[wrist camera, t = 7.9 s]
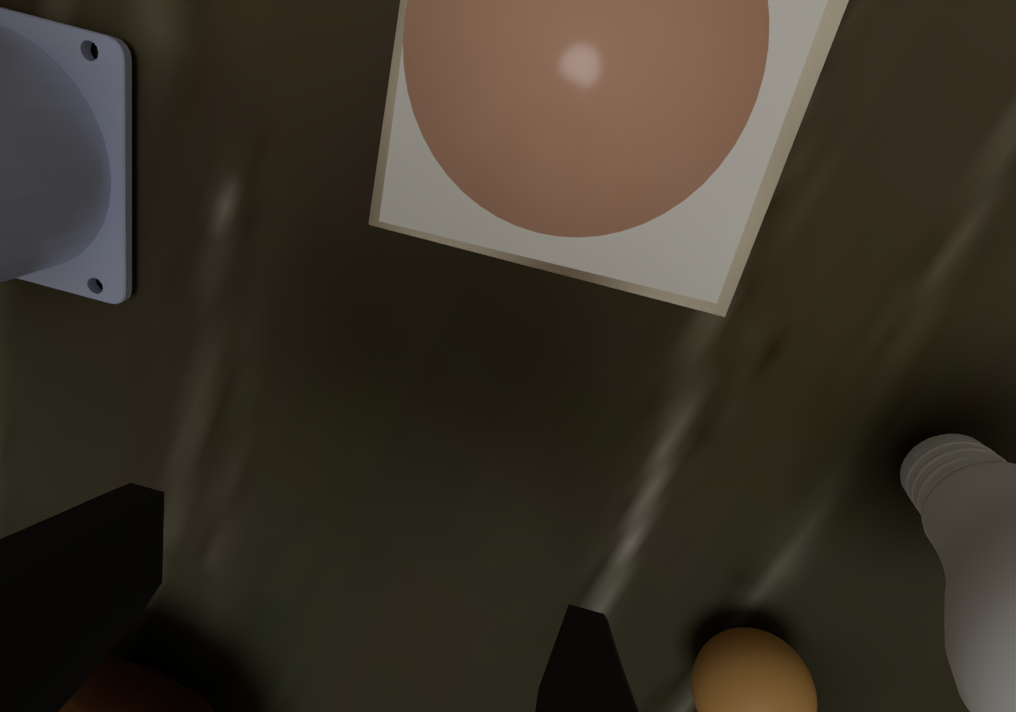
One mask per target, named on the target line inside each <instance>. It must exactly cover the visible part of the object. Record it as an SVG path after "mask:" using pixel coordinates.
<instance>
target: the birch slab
mask: <svg viewBox="0 0 1016 712" xmlns="http://www.w3.org/2000/svg"><path fill="white" fill-rule="evenodd" d="M848 1H849V0H828V2H827V5H826V8H825V10H824V13H823V16H822V18H821V21H820V24H819V27H818V29H817V32H816V35H815V38H814V40H813V43H812V46H811V48H810V51H809V54H808V57H807V59H806V62H805V65H804V68H803V70H802V73H801V76H800V78H799V81H798V84H797V87H796V89H795V92H794V95H793V97H792V100H791V103H790V106H789V108H788V111H787V114H786V117H785V119H784V122H783V125H782V127H781V130H780V133H779V136H778V138H777V141H776V144H775V146H774V149H773V152H772V155H771V157H770V160H769V163H768V166H767V168H766V171H765V174H764V176H763V179H762V182H761V185H760V187H759V190H758V193H757V196H756V198H755V201H754V204H753V206H752V209H751V212H750V215H749V217H748V220H747V223H746V225H745V228H744V231H743V234H742V236H741V239H740V242H739V245H738V247H737V250H736V253H735V255H734V258H733V261H732V264H731V266H730V269H729V272H728V275H727V277H726V280H725V283H724V285H723V288H722V291H721V294H720V296H719V299H718V302H717V304H716V303H712V302H708V301H704V300H700V299H696V298H692V297H688V296H683V295H679V294H675V293H671V292H667V291H663V290H659V289H655V288H651V287H647V286H642V285H638V284H634V283H630V282H626V281H622V280H618V279H614V278H610V277H605V276H601V275H597V274H593V273H589V272H585V271H581V270H577V269H573V268H569V267H564V266H560V265H556V264H552V263H548V262H544V261H540V260H536V259H532V258H527V257H523V256H519V255H515V254H511V253H507V252H503V251H499V250H495V249H491V248H486V247H482V246H478V245H474V244H470V243H466V242H462V241H458V240H454V239H449V238H445V237H441V236H437V235H433V234H429V233H425V232H421V231H417V230H413V229H408V228H404V227H400V226H396V225H392V224H388V223H384V222H380V221H379V217H380V209H381V202H382V194H383V187H384V180H385V172H386V165H387V157H388V150H389V142H390V135H391V128H392V120H393V113H394V105H395V98H396V90H397V83H398V76H399V68H400V61H401V53H402V46H403V31H404V19H405V11H406V7H407V2H408V0H400V7H399V14H398V21H397V28H396V35H395V42H394V49H393V56H392V63H391V70H390V77H389V84H388V91H387V98H386V105H385V112H384V119H383V126H382V133H381V140H380V147H379V154H378V161H377V168H376V175H375V182H374V189H373V196H372V203H371V210H370V217H369V224H368V225H372V226H376V227H380V228H383V229H387V230H391V231H395V232H399V233H403V234H407V235H410V236H414V237H418V238H422V239H426V240H430V241H434V242H437V243H441V244H445V245H449V246H453V247H457V248H461V249H464V250H468V251H472V252H476V253H480V254H484V255H488V256H491V257H495V258H499V259H503V260H507V261H511V262H515V263H519V264H522V265H526V266H530V267H534V268H538V269H542V270H546V271H549V272H553V273H557V274H561V275H565V276H569V277H573V278H576V279H580V280H584V281H588V282H592V283H596V284H600V285H603V286H607V287H611V288H615V289H619V290H623V291H627V292H630V293H634V294H638V295H642V296H646V297H650V298H654V299H657V300H661V301H665V302H669V303H673V304H677V305H681V306H684V307H688V308H692V309H696V310H700V311H704V312H708V313H711V314H715V315H719V316H723V317H725V316H726V313H727V310H728V308H729V305H730V303H731V300H732V298H733V295H734V293H735V290H736V287H737V285H738V282H739V280H740V277H741V275H742V272H743V269H744V267H745V264H746V262H747V259H748V257H749V254H750V252H751V249H752V246H753V244H754V241H755V239H756V236H757V234H758V231H759V229H760V226H761V223H762V221H763V218H764V216H765V213H766V211H767V208H768V206H769V203H770V200H771V198H772V195H773V193H774V190H775V188H776V185H777V183H778V180H779V177H780V175H781V172H782V170H783V167H784V165H785V162H786V160H787V157H788V154H789V152H790V149H791V147H792V144H793V142H794V139H795V137H796V134H797V131H798V129H799V126H800V124H801V121H802V119H803V116H804V114H805V111H806V108H807V106H808V103H809V101H810V98H811V96H812V93H813V91H814V88H815V85H816V83H817V80H818V78H819V75H820V73H821V70H822V68H823V65H824V62H825V60H826V57H827V55H828V52H829V50H830V47H831V44H832V42H833V39H834V37H835V34H836V32H837V29H838V27H839V24H840V21H841V19H842V16H843V14H844V11H845V9H846V6H847V4H848Z"/></svg>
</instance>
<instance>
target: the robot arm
mask: <svg viewBox="0 0 1016 712" xmlns="http://www.w3.org/2000/svg"><path fill="white" fill-rule="evenodd" d="M93 43H94V44H95V45H96V47H97V49H98V57H97V59H95V58H94V57H93V56H92V54H91V50H90V49H91V44H93ZM14 278H17V279H21V280H25V281H28V282H32V283H36V284H40V285H43V286H47V287H51V288H54V289H58V290H62V291H66V292H69V293H73V294H77V295H80V296H84V297H88V298H92V299H95V300H99V301H103V302H107V303H110V304H118V303H121V302H123V301H126V300H128V299H129V297H130V296H131V293H132V58H131V52H130V50H129V49H128V47H127V45H126V44H125V43H124V42H123V41H122V40H121V39H119V38H117V37H114V36H110V35H106V34H103V33H99V32H95V31H91V30H87V29H83V28H80V27H76V26H72V25H68V24H64V23H60V22H56V21H53V20H49V19H45V18H41V17H37V16H33V15H30V14H26V13H22V12H18V11H14V10H10V9H6V8H3V7H0V283H1V282H4V281H8V280H11V279H14ZM96 279H98V280H99V281H100V282H101V283H102V286H103V289H101V288H99V286H98V285H97V283H96ZM163 522H164V492H161V491H158V490H154V489H151V488H147V487H143V486H140V485H136V484H133V483H130V484H127V485H125V486H122V487H119V488H117V489H115V490H112V491H110V492H107V493H105V494H103V495H101V496H98V497H96V498H94V499H91V500H89V501H87V502H85V503H82V504H80V505H78V506H75V507H73V508H71V509H69V510H66V511H64V512H62V513H60V514H57V515H55V516H53V517H51V518H48V519H46V520H44V521H41V522H39V523H37V524H35V525H32V526H30V527H28V528H25V529H23V530H21V531H18V532H16V533H14V534H11V535H9V536H7V537H4V538H2V539H0V712H58V711H59V710H60V709H61V708H62V707H63V706H64V705H65V704H66V702H67V701H68V700H69V699H70V698H71V697H72V696H73V695H74V693H75V692H76V691H77V690H78V689H79V688H80V687H81V686H82V684H83V683H84V682H85V681H86V680H87V679H88V678H89V677H90V675H91V674H92V673H93V672H94V671H95V670H96V669H97V667H98V666H99V665H100V664H101V663H102V662H103V661H104V659H105V658H106V657H107V656H108V655H109V654H110V653H111V651H112V650H113V649H114V648H115V647H116V646H117V644H118V643H119V642H120V641H121V640H122V639H123V637H124V636H125V635H126V634H127V632H128V631H129V629H130V628H131V627H132V625H133V624H134V622H135V621H136V620H137V618H138V617H139V615H140V614H141V613H142V611H143V610H144V608H145V607H146V605H147V604H148V602H149V601H150V599H151V598H152V596H153V595H154V594H155V592H156V591H157V589H158V588H159V586H160V585H161V583H162V564H163ZM535 712H639V711H638V709H637V706H636V703H635V701H634V698H633V695H632V693H631V690H630V687H629V684H628V681H627V679H626V676H625V673H624V670H623V667H622V664H621V661H620V658H619V655H618V652H617V649H616V646H615V643H614V640H613V636H612V633H611V630H610V626H609V623H608V620H607V618H606V617H605V615H604V614H602V613H598V612H595V611H591V610H587V609H584V608H580V607H577V606H573V605H569V606H568V608H567V611H566V614H565V617H564V619H563V622H562V625H561V628H560V631H559V633H558V636H557V639H556V642H555V644H554V647H553V650H552V653H551V656H550V658H549V661H548V664H547V667H546V669H545V672H544V675H543V678H542V681H541V683H540V686H539V690H538V697H537V704H536V711H535Z"/></svg>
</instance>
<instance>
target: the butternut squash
mask: <svg viewBox="0 0 1016 712" xmlns="http://www.w3.org/2000/svg"><path fill="white" fill-rule="evenodd" d="M58 712H214V710H213V709H212V707H211V706H210V704H209V703H208V701H207V700H206V698H204V697H203V696H201V695H200V694H198V693H196V692H194V691H192V690H191V689H189V688H187V687H185V686H183V685H182V684H180V683H178V682H176V681H174V680H172V679H171V678H169V677H167V676H165V675H163V674H162V673H160V672H158V671H156V670H153V669H150V668H147V667H144V666H141V665H138V664H135V663H132V662H130V661H127V660H124V659H121V658H118V657H116V656H113V655H110V654H109V655H108V656H107V657H106V658H105V659H104V661H103V662H102V663H101V664H100V665H99V666H98V667H97V669H96V670H95V671H94V672H93V673H92V674H91V675H90V677H89V678H88V679H87V680H86V681H85V682H84V683H83V684H82V686H81V687H80V688H79V689H78V690H77V691H76V692H75V693H74V695H73V696H72V697H71V698H70V699H69V700H68V701H67V702H66V704H65V705H64V706H63V707H62V708H61V709H60V710H59V711H58Z"/></svg>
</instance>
